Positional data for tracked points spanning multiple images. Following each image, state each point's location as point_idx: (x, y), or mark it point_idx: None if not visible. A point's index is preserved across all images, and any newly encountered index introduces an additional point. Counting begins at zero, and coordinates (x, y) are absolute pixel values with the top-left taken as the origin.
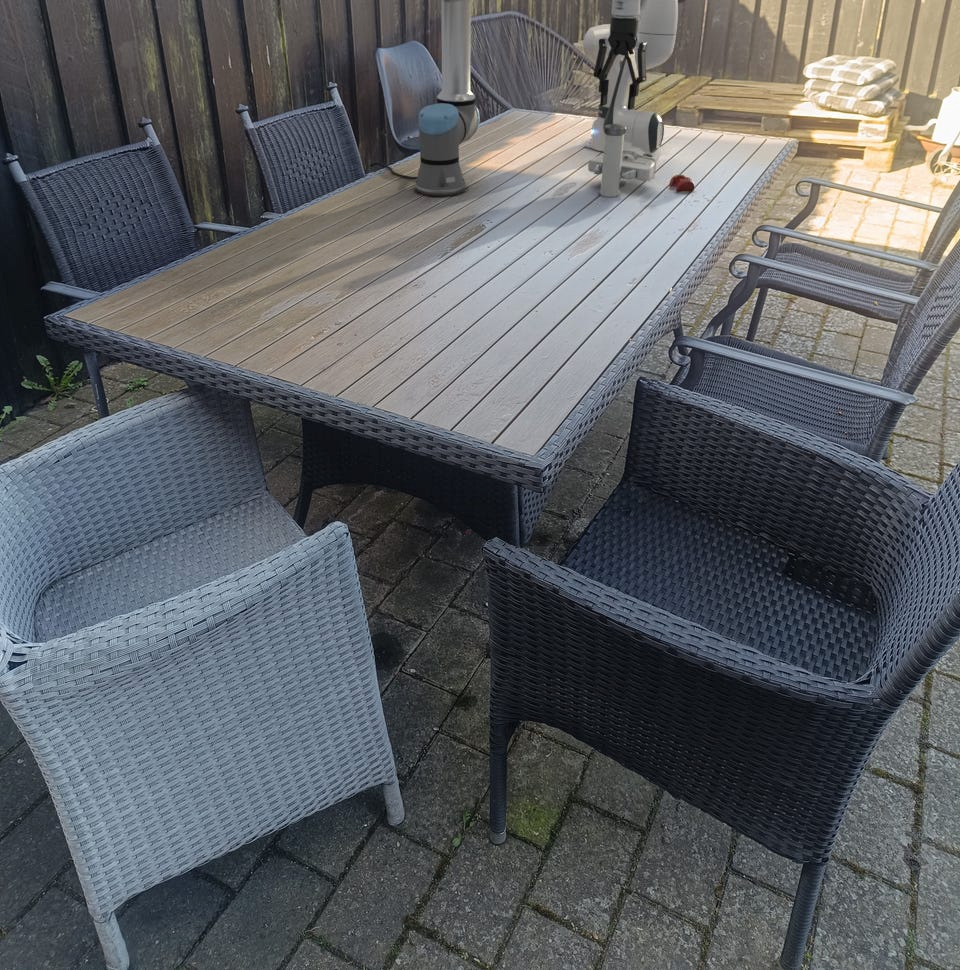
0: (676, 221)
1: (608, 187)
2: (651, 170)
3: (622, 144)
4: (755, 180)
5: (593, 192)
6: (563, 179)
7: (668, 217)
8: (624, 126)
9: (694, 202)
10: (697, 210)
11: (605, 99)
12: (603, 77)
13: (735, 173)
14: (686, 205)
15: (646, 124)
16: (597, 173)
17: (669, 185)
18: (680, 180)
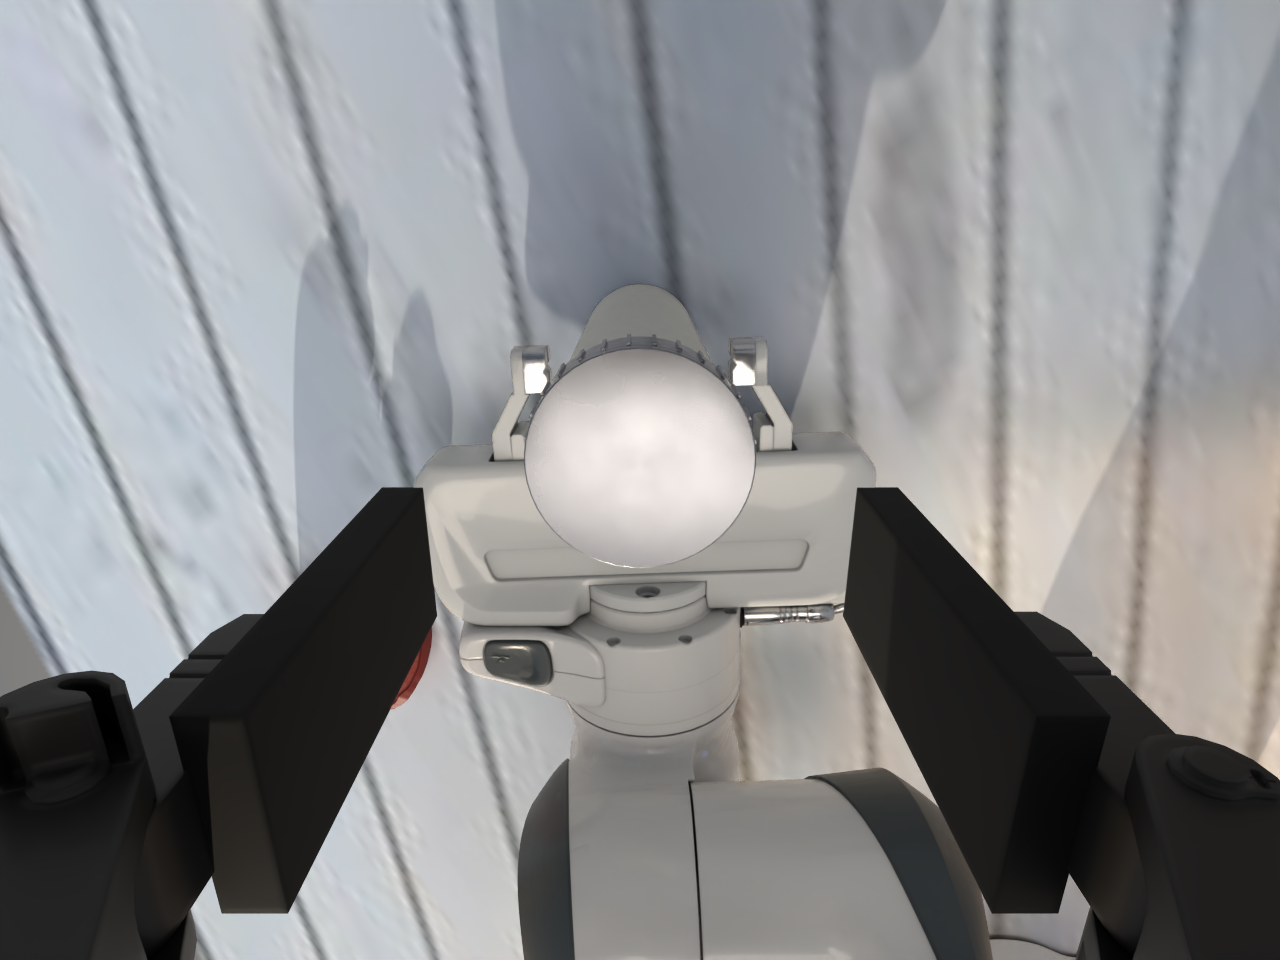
0: (39, 87)
1: (621, 292)
2: None
3: None
4: (195, 914)
5: (736, 317)
6: (1004, 443)
7: (122, 133)
8: (557, 517)
9: (191, 478)
10: (91, 360)
11: (871, 601)
12: (1140, 813)
13: (321, 954)
14: (189, 407)
15: (589, 881)
16: (734, 338)
17: (431, 630)
18: None
